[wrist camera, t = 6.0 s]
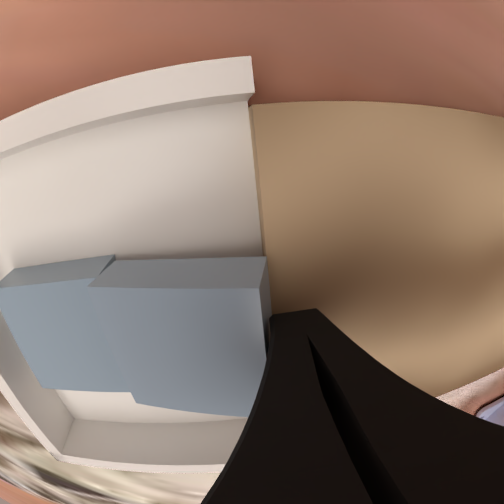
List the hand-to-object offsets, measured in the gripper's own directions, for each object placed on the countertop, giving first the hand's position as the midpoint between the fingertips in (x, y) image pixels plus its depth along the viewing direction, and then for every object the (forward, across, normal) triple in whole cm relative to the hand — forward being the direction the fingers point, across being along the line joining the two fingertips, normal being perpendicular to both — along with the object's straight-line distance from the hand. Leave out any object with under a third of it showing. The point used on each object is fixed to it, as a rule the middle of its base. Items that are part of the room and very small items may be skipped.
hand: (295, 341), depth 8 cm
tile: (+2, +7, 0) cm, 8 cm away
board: (+3, -6, 0) cm, 7 cm away
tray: (+3, +6, 0) cm, 7 cm away
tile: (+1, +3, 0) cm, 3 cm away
